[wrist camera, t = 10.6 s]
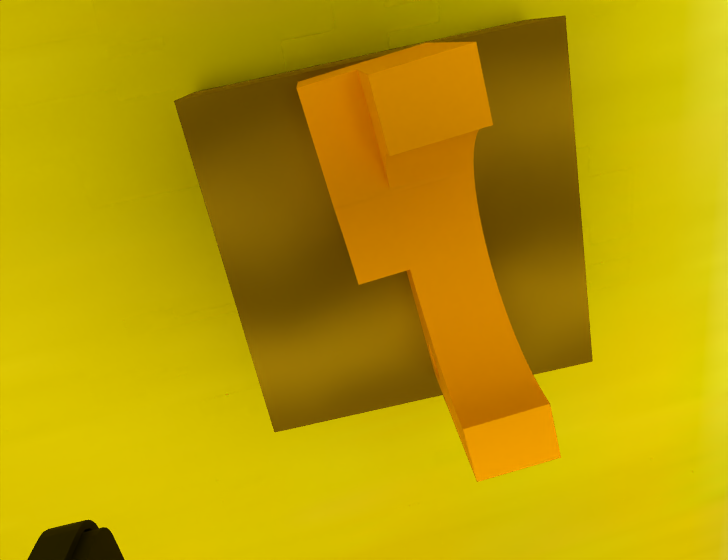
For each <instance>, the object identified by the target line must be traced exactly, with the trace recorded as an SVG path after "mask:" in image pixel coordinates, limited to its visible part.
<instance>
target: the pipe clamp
mask: <svg viewBox="0 0 728 560" xmlns="http://www.w3.org/2000/svg"><path fill="white" fill-rule="evenodd" d="M297 91H298V95H299V98H300V101H301V104H302V107H303V111H304V114H305V117H306V120H307V123H308V127H309V130H310V133H311V136H312V140H313V143H314V146H315V149H316V152H317V156H318V159H319V162H320V165H321V168H322V172H323V175H324V178H325V181H326V184H327V188H328V191H329V194H330V197H331V201H332V204H333V207H334V210H335V213H336V216H337V219H338V222H339V225H340V228H341V231H342V234H343V237H344V240H345V243H346V246H347V249H348V252H349V256H350V259H351V262H352V265H353V268H354V272H355V275H356V278H357V281H358V284H359V285H360V284H363V283H367V282H370V281H373V280H377V279H380V278H383V277H387V276H390V275H393V274H397V273H400V272H403V271H407V275H408V278H409V282H410V286H411V289H412V293H413V296H414V300H415V304H416V307H417V311H418V314H419V318H420V322H421V325H422V329H423V332H424V336H425V340H426V343H427V347H428V350H429V354H430V358H431V361H432V365H433V368H434V372H435V376H436V378H437V381H438V383H439V386H440V388H441V391H442V393H443V396H444V399H445V401H446V404H447V406H448V409H449V411H450V414H451V416H452V419H453V421H454V424H455V427H456V429H457V432H458V434H459V437H460V439H461V442H462V444H463V447H464V450H465V452H466V455H467V457H468V460H469V462H470V465H471V467H472V470H473V472H474V475H475V478H476V480H477V482H478V481H482V480H485V479H489V478H492V477H496V476H499V475H502V474H506V473H509V472H513V471H516V470H520V469H523V468H526V467H530V466H533V465H537V464H540V463H544V462H547V461H550V460H554V459H557V458H561V456H560V451H559V446H558V441H557V436H556V431H555V426H554V421H553V416H552V411H551V406H550V403H549V402H548V400H547V398H546V397H545V395H544V394H543V392H542V390H541V388H540V387H539V385H538V383H537V381H536V379H535V378H534V376H533V374H532V372H531V370H530V368H529V366H528V364H527V361H526V359H525V357H524V355H523V353H522V350H521V348H520V346H519V343H518V341H517V339H516V336H515V334H514V331H513V329H512V326H511V323H510V321H509V318H508V315H507V313H506V310H505V307H504V304H503V301H502V298H501V295H500V292H499V289H498V286H497V283H496V280H495V276H494V273H493V269H492V266H491V262H490V258H489V255H488V251H487V247H486V243H485V239H484V234H483V230H482V225H481V220H480V215H479V209H478V203H477V196H476V189H475V179H474V145H475V140H476V136H477V133H478V131H479V129H482V128H485V127H488V126H492V125H493V122H492V117H491V112H490V107H489V102H488V97H487V92H486V87H485V83H484V78H483V73H482V68H481V63H480V58H479V53H478V48H477V43H476V42H435V43H423V44H420V45H417V46H413V47H410V48H407V49H403V50H400V51H397V52H394V53H390V54H387V55H384V56H381V57H377V58H374V59H371V60H367V61H364V62H361V63H358V64H354V65H351V66H348V67H345V68H341V69H338V70H335V71H331V72H328V73H325V74H322V75H318V76H315V77H312V78H309V79H305V80H302V81H299V82H298V83H297Z"/></svg>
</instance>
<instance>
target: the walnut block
mask: <svg viewBox="0 0 728 560" xmlns="http://www.w3.org/2000/svg"><path fill="white" fill-rule="evenodd" d="M435 42H476V43H477V48H478V53H479V58H480V63H481V68H482V73H483V78H484V83H485V87H486V92H487V97H488V102H489V107H490V112H491V117H492V122H493V125H492V126H488V127H485V128H482V129H479V131H478V133H477V136H476V140H475V145H474V179H475V189H476V196H477V203H478V209H479V215H480V220H481V225H482V230H483V234H484V239H485V243H486V247H487V251H488V255H489V258H490V262H491V266H492V269H493V273H494V276H495V280H496V283H497V286H498V289H499V292H500V295H501V298H502V301H503V304H504V307H505V310H506V313H507V315H508V318H509V321H510V323H511V326H512V329H513V331H514V334H515V336H516V339H517V341H518V343H519V346H520V348H521V350H522V353H523V355H524V357H525V359H526V361H527V364H528V366H529V368H530V370H531V372H532V374H533V375H534V374H538V373H543V372H547V371H552V370H556V369H561V368H565V367H569V366H574V365H578V364H583V363H587V362H592V349H591V336H590V323H589V311H588V298H587V285H586V272H585V260H584V247H583V234H582V221H581V208H580V196H579V183H578V170H577V157H576V145H575V132H574V119H573V106H572V94H571V81H570V68H569V55H568V43H567V30H566V17H565V16H558V17H549V18H540V19H531V20H524V21H519V22H514V23H510V24H505V25H501V26H496V27H492V28H487V29H482V30H478V31H473V32H469V33H464V34H459V35H455V36H450V37H446V38H441V39H437V40H432V41H427V42H423V43H435ZM423 43H418V44H414V45H409V46H404V47H400V48H395V49H391V50H386V51H382V52H377V53H372V54H368V55H363V56H359V57H354V58H349V59H345V60H340V61H336V62H331V63H326V64H322V65H317V66H313V67H308V68H304V69H299V70H294V71H290V72H285V73H281V74H276V75H271V76H267V77H262V78H258V79H253V80H249V81H244V82H239V83H235V84H230V85H226V86H221V87H216V88H212V89H207V90H203V91H198V92H194V93H192V94H189V95H187V96H185V97H182V98H180V99H178V100H175V101H174V102H175V105H176V109H177V112H178V115H179V119H180V122H181V125H182V129H183V132H184V135H185V138H186V142H187V145H188V148H189V152H190V155H191V158H192V162H193V165H194V168H195V171H196V175H197V178H198V181H199V185H200V188H201V191H202V195H203V198H204V201H205V204H206V208H207V211H208V214H209V218H210V221H211V224H212V228H213V231H214V234H215V237H216V241H217V244H218V247H219V251H220V254H221V257H222V261H223V264H224V267H225V270H226V274H227V277H228V280H229V284H230V287H231V290H232V294H233V297H234V300H235V303H236V307H237V310H238V313H239V317H240V320H241V323H242V327H243V330H244V333H245V337H246V340H247V343H248V346H249V350H250V353H251V356H252V360H253V363H254V366H255V370H256V373H257V376H258V379H259V383H260V386H261V389H262V393H263V396H264V399H265V403H266V406H267V409H268V412H269V416H270V419H271V422H272V426H273V429H274V432H278V431H283V430H287V429H292V428H296V427H301V426H305V425H310V424H314V423H319V422H323V421H328V420H332V419H337V418H341V417H346V416H350V415H355V414H359V413H364V412H368V411H373V410H377V409H381V408H386V407H390V406H395V405H399V404H404V403H408V402H413V401H417V400H422V399H426V398H431V397H435V396H440V395H443V393H442V391H441V388H440V386H439V383H438V381H437V378H436V376H435V372H434V368H433V365H432V361H431V358H430V354H429V350H428V347H427V343H426V340H425V336H424V332H423V329H422V325H421V322H420V318H419V314H418V311H417V307H416V304H415V300H414V296H413V293H412V289H411V286H410V282H409V278H408V275H407V271H403V272H400V273H397V274H393V275H390V276H387V277H383V278H380V279H377V280H373V281H370V282H367V283H363V284H360V285H359V284H358V281H357V278H356V275H355V272H354V268H353V265H352V262H351V259H350V256H349V252H348V249H347V246H346V243H345V240H344V237H343V234H342V231H341V228H340V225H339V222H338V219H337V216H336V213H335V210H334V207H333V204H332V201H331V197H330V194H329V191H328V188H327V184H326V181H325V178H324V175H323V172H322V168H321V165H320V162H319V159H318V156H317V152H316V149H315V146H314V143H313V140H312V136H311V133H310V130H309V127H308V123H307V120H306V117H305V114H304V111H303V107H302V104H301V101H300V98H299V95H298V91H297V83H298V82H299V81H302V80H305V79H309V78H312V77H315V76H318V75H322V74H325V73H328V72H331V71H335V70H338V69H341V68H345V67H348V66H351V65H354V64H358V63H361V62H364V61H367V60H371V59H374V58H377V57H381V56H384V55H387V54H390V53H394V52H397V51H400V50H403V49H407V48H410V47H413V46H417V45H420V44H423Z"/></svg>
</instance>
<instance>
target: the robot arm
mask: <svg viewBox="0 0 728 560" xmlns="http://www.w3.org/2000/svg"><path fill="white" fill-rule="evenodd" d="M28 560H124V558H123V556H122V553H121V551H120V549H119V547H118V545H117V543H116V541H115V539H114V537H113V535H112V533H111V531H110V530H109V529H108V528H104V527H103V528H98V526H97V525H96V523H94V522H93V521H92V520H85V521H80V522H76V523H72V524H68V525H63V526H59V527H55V528H51V529H48V530H46V531H44V532H43V533H42V534H41V536H40V537H39V539H38V541H37V543H36V544H35V546H34V548H33V550H32V552H31V554H30V556H29V558H28Z"/></svg>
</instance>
